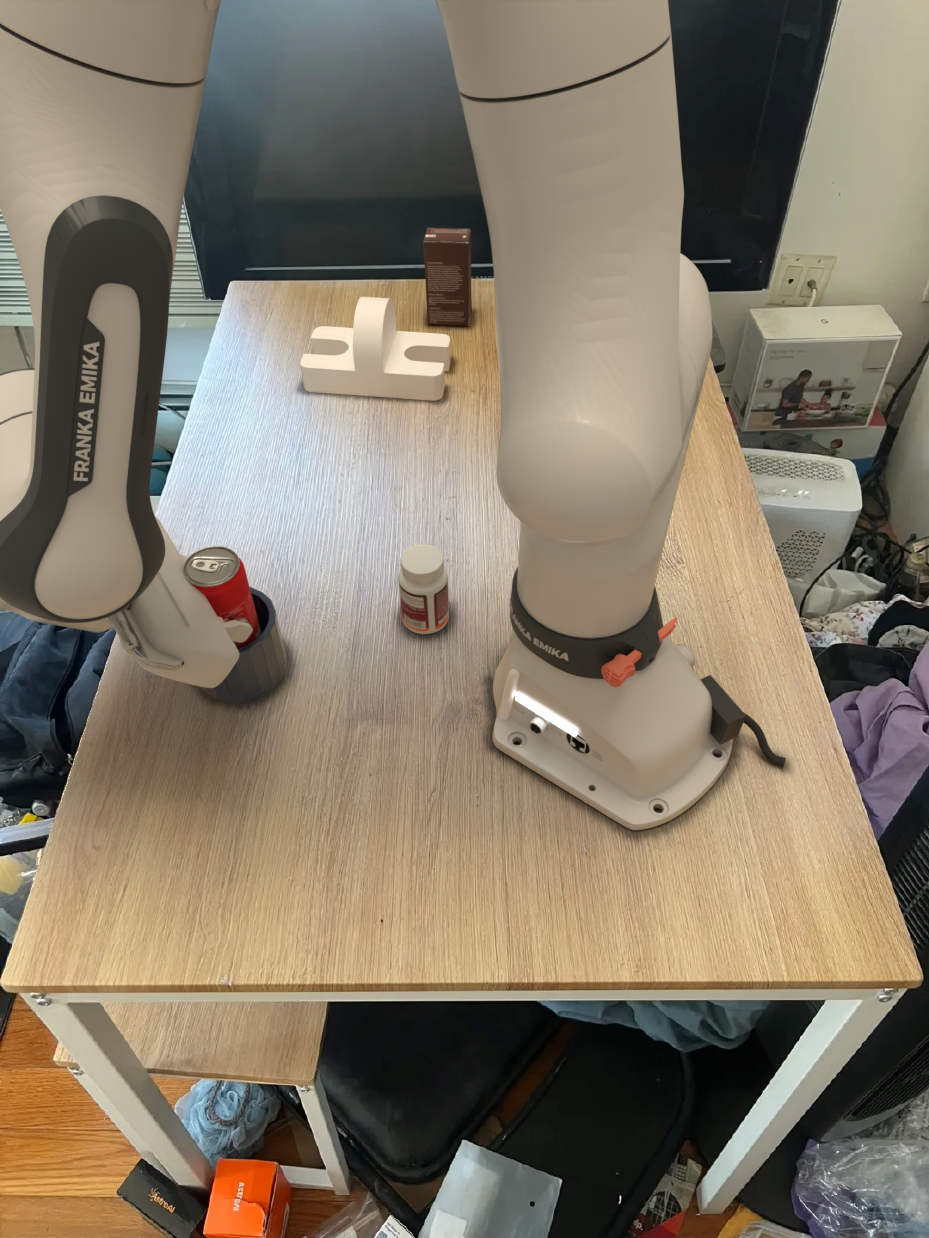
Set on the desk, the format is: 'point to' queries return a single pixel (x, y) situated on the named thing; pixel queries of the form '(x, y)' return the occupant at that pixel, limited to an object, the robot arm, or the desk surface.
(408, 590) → the pill bottle
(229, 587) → the beverage can
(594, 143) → the robot arm
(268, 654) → the faceted open cup
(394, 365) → the white u-slot block
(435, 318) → the box
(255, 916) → the desk surface
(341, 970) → the desk surface
